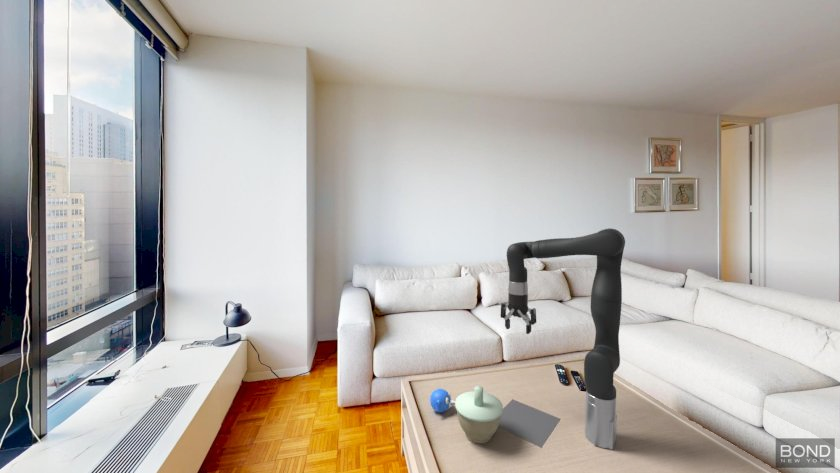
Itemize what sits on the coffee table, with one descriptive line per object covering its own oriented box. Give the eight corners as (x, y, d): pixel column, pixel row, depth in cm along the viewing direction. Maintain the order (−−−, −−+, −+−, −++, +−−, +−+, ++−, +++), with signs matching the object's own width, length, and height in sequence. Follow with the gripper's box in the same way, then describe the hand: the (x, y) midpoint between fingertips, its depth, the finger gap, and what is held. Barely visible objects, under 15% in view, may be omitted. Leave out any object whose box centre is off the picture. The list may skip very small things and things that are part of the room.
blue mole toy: (455, 422, 122) (455, 402, 122) (426, 416, 126) (426, 396, 126) (461, 404, 134) (461, 385, 133) (434, 400, 138) (434, 381, 137)
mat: (560, 419, 123) (560, 418, 123) (541, 448, 108) (541, 447, 108) (512, 400, 137) (512, 399, 137) (489, 423, 122) (489, 422, 122)
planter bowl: (506, 451, 108) (506, 420, 107) (458, 451, 108) (458, 420, 107) (495, 420, 124) (495, 393, 123) (454, 420, 124) (454, 393, 123)
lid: (510, 404, 116) (511, 386, 115) (487, 429, 103) (487, 408, 102) (471, 388, 127) (471, 371, 126) (446, 408, 114) (445, 389, 114)
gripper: (539, 292, 125) (538, 332, 127) (505, 287, 135) (505, 324, 136) (531, 296, 120) (531, 338, 121) (497, 291, 129) (497, 329, 130)
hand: (517, 331), depth 128 cm, fingers open, 8 cm apart
